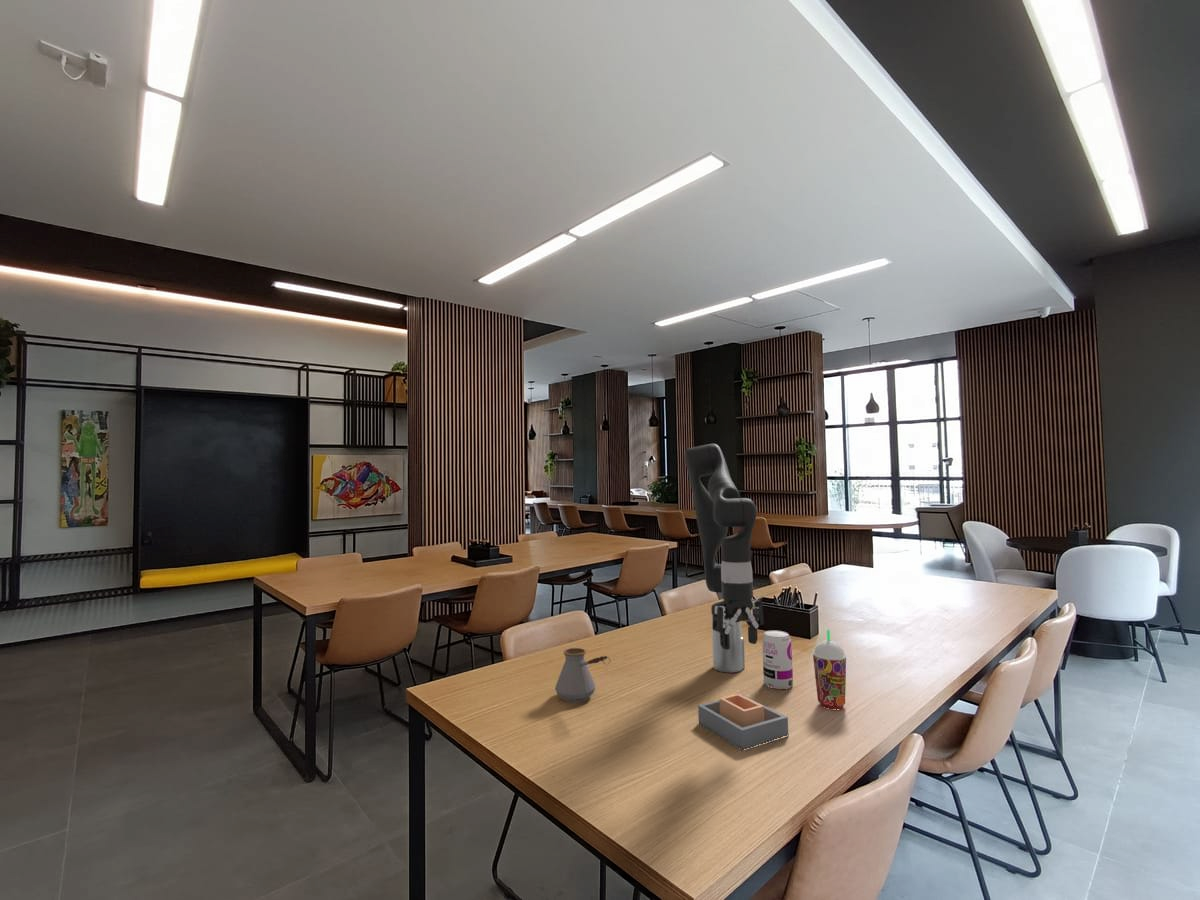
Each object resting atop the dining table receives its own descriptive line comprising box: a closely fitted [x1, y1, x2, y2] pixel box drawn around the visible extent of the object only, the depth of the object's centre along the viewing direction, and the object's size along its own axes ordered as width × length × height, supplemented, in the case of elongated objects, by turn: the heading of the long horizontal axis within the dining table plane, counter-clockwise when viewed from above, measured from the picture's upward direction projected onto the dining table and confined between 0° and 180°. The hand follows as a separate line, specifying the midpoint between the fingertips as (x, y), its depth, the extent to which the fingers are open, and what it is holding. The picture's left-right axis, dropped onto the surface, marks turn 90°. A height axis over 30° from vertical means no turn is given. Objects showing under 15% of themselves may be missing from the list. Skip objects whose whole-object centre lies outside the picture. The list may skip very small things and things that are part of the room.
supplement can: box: [761, 629, 794, 690], centre depth 161 cm, size 8×8×15 cm
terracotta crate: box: [719, 693, 765, 728], centre depth 132 cm, size 6×9×6 cm, turn 27°
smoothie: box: [812, 629, 847, 711], centre depth 145 cm, size 8×8×20 cm
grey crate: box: [697, 694, 789, 751], centre depth 132 cm, size 14×16×4 cm
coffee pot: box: [555, 647, 611, 704], centre depth 151 cm, size 21×12×15 cm, turn 36°
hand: (739, 645), depth 134 cm, fingers open, 8 cm apart
